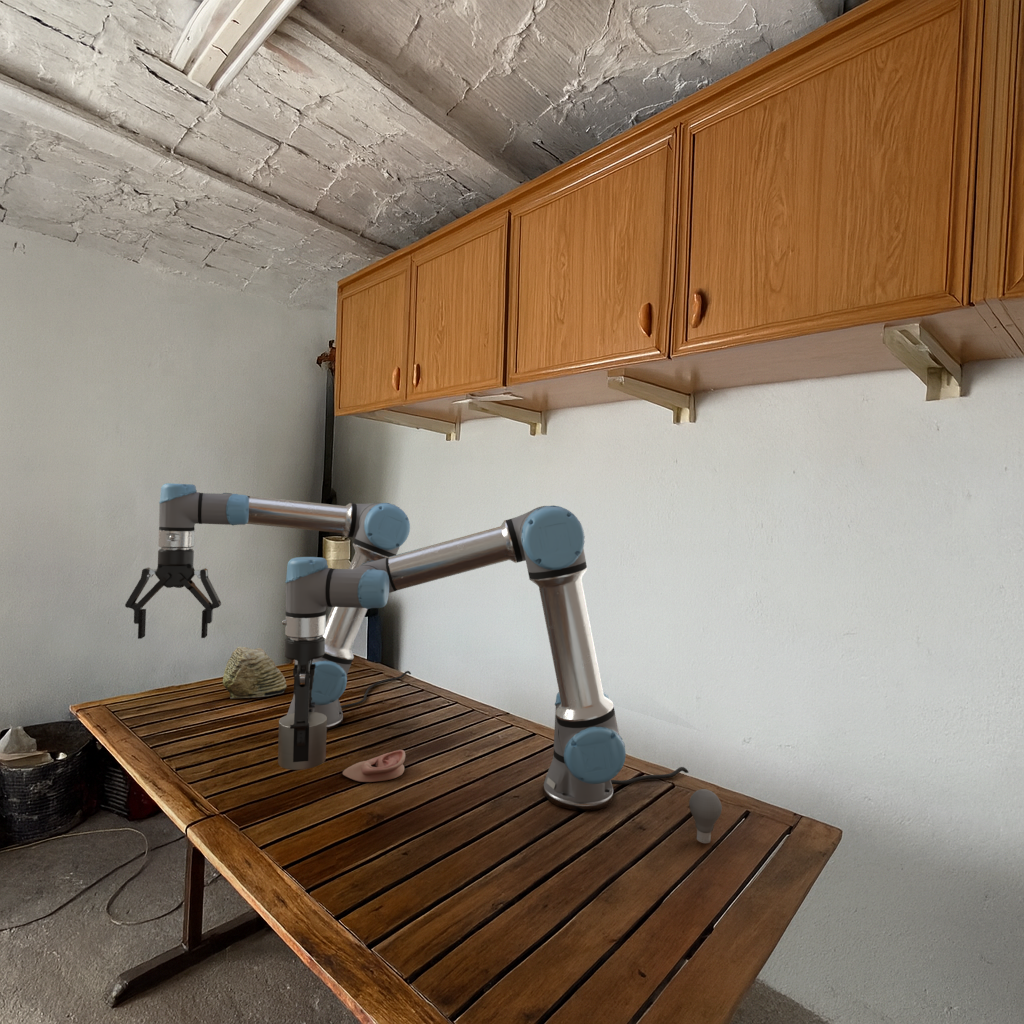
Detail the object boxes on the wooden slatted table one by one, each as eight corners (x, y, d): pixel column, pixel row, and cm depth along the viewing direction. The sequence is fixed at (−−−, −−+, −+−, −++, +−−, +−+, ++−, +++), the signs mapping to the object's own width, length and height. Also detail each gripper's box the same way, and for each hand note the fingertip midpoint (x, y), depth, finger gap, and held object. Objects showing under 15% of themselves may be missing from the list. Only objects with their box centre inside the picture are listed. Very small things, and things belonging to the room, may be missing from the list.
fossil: (218, 695, 195) (220, 647, 195) (278, 685, 208) (279, 640, 207) (228, 703, 189) (230, 653, 188) (289, 692, 201) (290, 645, 201)
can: (294, 774, 118) (295, 730, 118) (268, 760, 124) (269, 719, 123) (335, 760, 125) (336, 719, 125) (309, 747, 130) (310, 708, 130)
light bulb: (682, 833, 125) (685, 783, 125) (712, 833, 125) (714, 783, 125) (694, 850, 119) (696, 797, 119) (725, 850, 119) (727, 798, 119)
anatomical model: (336, 761, 142) (359, 742, 153) (336, 778, 142) (358, 758, 153) (392, 768, 139) (411, 749, 151) (391, 786, 139) (410, 765, 151)
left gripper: (111, 548, 144) (108, 641, 144) (229, 550, 150) (226, 640, 150) (123, 545, 151) (120, 634, 152) (235, 548, 157) (232, 633, 158)
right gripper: (289, 625, 133) (286, 732, 134) (279, 650, 112) (276, 776, 113) (326, 625, 135) (323, 729, 136) (323, 648, 114) (320, 772, 115)
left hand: (173, 637), depth 151 cm, fingers open, 13 cm apart
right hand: (302, 750), depth 124 cm, fingers closed on can, 9 cm apart
